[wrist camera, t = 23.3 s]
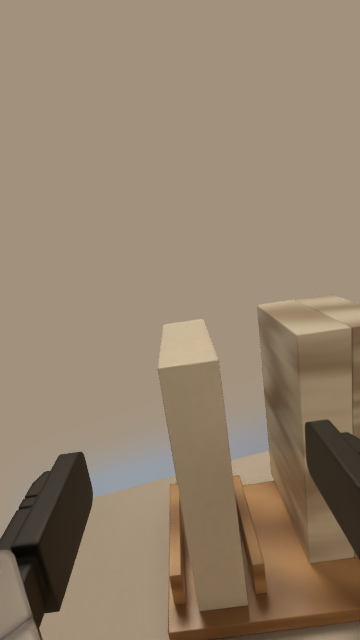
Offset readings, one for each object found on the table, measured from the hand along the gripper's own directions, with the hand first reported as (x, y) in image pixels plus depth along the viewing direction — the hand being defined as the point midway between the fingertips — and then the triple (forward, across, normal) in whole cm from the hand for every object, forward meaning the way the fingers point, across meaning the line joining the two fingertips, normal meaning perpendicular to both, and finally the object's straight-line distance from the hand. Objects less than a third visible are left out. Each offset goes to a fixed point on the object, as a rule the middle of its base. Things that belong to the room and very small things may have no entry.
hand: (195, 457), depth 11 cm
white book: (+10, 0, +16) cm, 18 cm away
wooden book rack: (+10, -5, +17) cm, 20 cm away
